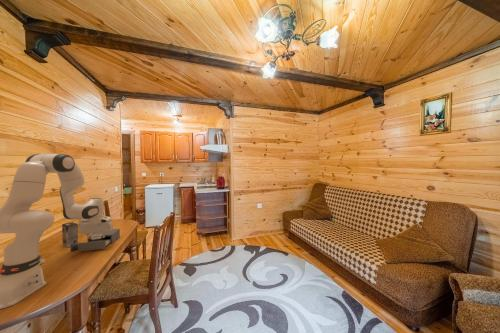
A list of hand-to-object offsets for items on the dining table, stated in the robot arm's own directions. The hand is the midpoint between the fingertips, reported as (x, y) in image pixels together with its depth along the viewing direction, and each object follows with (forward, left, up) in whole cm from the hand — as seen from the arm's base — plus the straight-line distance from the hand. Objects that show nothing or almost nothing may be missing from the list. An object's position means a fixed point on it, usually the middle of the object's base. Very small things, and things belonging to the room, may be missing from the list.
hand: (96, 238), depth 138 cm
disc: (0, 0, 0) cm, 0 cm away
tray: (0, 0, -6) cm, 6 cm away
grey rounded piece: (-1, +13, -7) cm, 15 cm away
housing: (+12, 0, -7) cm, 14 cm away
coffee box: (+10, +22, -7) cm, 25 cm away
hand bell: (-16, +25, -7) cm, 30 cm away
